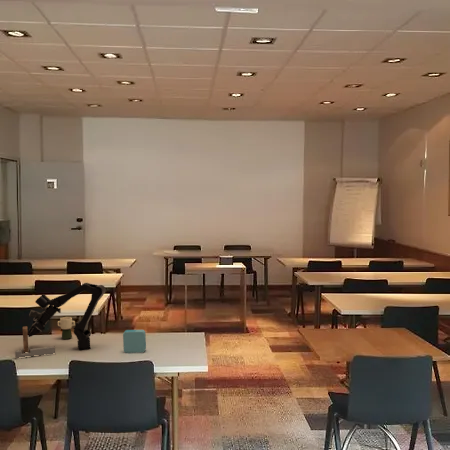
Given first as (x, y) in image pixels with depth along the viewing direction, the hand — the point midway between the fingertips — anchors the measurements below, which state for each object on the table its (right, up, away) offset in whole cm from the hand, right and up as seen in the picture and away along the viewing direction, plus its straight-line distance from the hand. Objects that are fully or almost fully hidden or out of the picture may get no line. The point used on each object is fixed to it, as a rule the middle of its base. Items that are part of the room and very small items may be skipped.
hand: (28, 334), depth 312 cm
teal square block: (+62, -9, -6) cm, 63 cm away
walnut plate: (-1, -10, 0) cm, 10 cm away
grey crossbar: (+7, -10, -10) cm, 16 cm away
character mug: (+14, -8, +27) cm, 31 cm away
